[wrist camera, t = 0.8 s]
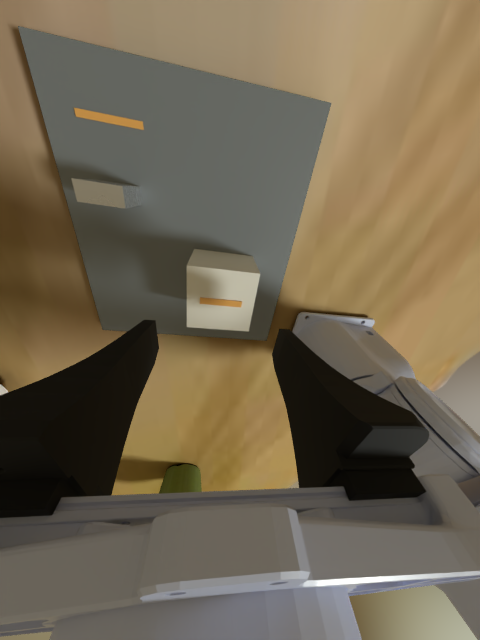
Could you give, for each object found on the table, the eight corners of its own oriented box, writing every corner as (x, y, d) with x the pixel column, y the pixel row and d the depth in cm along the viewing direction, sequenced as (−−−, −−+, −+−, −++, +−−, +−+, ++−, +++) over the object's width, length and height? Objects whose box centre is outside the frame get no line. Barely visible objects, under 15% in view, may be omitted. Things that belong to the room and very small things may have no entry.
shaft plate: (324, 108, 14) (359, 81, 10) (265, 335, 25) (272, 359, 21) (32, 37, 12) (-51, -29, 8) (107, 324, 22) (85, 349, 19)
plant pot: (155, 481, 46) (137, 557, 36) (155, 457, 40) (135, 540, 30) (207, 481, 48) (203, 553, 39) (215, 458, 42) (213, 537, 32)
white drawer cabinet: (252, 256, 18) (260, 274, 14) (244, 305, 21) (248, 332, 17) (194, 248, 18) (186, 265, 14) (193, 301, 20) (186, 327, 16)
